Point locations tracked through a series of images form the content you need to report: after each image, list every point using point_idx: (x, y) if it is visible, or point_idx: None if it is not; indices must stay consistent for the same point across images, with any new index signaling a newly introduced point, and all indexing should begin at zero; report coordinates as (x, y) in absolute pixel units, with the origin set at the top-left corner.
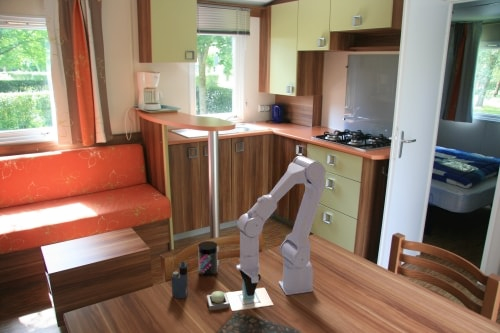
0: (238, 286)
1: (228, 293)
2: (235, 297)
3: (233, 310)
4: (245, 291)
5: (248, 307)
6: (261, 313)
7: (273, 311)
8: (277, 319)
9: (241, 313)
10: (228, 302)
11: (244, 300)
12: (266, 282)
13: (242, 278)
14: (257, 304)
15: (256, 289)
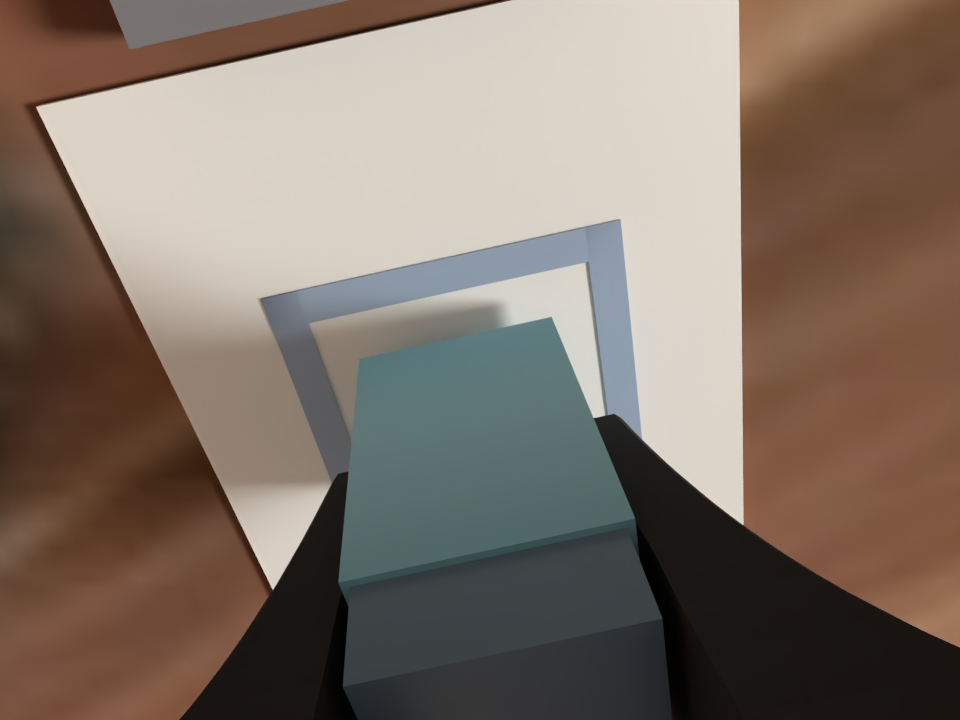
0: (911, 224)
1: (698, 15)
2: (527, 173)
3: (49, 133)
4: (354, 494)
5: (203, 400)
6: (95, 557)
7: (175, 674)
8: (3, 709)
9: (16, 283)
10: (168, 26)
11: (417, 337)
12: (873, 601)
13: (680, 583)
14: (304, 519)
15: (721, 501)
